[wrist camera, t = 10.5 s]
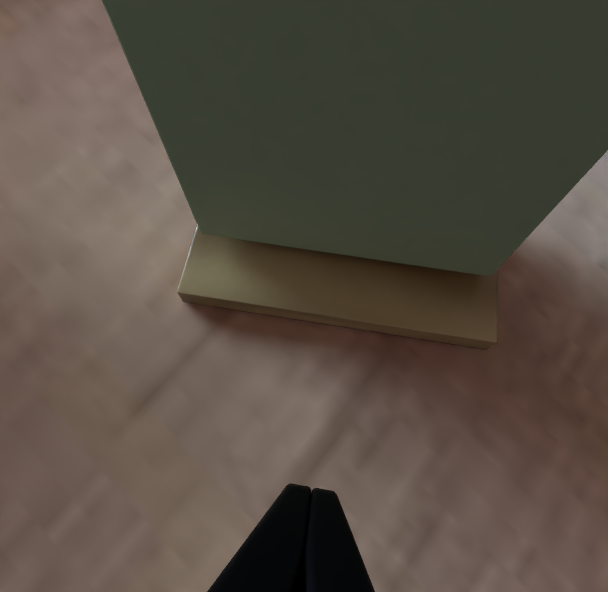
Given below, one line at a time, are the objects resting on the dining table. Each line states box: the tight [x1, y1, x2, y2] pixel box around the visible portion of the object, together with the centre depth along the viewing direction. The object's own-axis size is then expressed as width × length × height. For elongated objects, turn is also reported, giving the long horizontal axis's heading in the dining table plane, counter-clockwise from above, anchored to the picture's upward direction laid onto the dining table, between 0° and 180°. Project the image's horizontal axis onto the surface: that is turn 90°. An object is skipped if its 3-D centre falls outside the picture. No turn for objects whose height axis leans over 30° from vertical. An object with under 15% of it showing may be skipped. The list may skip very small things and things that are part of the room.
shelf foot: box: [177, 225, 498, 349], centre depth 20 cm, size 6×13×1 cm, turn 80°
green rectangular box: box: [102, 0, 608, 276], centre depth 13 cm, size 5×12×13 cm, turn 81°
